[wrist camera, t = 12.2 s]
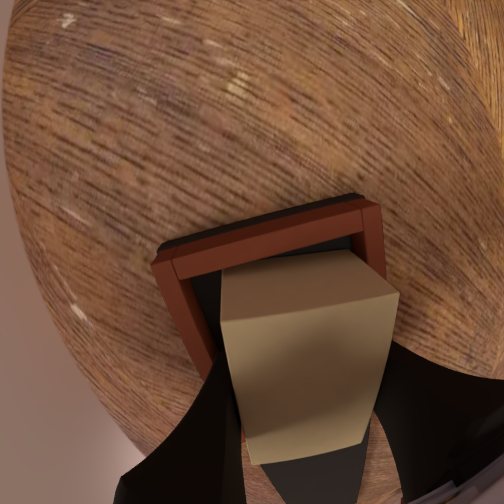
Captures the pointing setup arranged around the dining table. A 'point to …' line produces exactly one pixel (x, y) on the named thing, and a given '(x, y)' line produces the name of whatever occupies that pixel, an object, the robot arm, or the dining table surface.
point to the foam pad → (305, 350)
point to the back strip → (209, 309)
